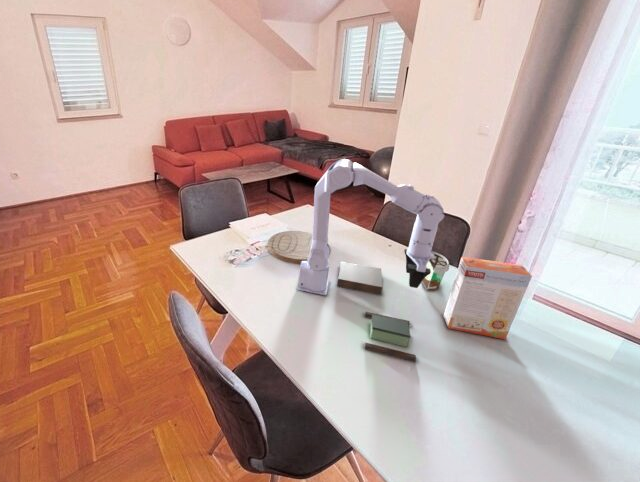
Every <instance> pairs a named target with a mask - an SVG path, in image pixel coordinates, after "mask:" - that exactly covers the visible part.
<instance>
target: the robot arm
mask: <svg viewBox="0 0 640 482" xmlns="http://www.w3.org/2000/svg"><path fill="white" fill-rule="evenodd" d="M351 184H352V186H353V187H356V186H360V185H366V186H368V187H370V188H372V189H374V190H376V191H378V192H380V193H382V194H384V195H387V196H388V197H390V201H391V203H392V204H395V205H396V206H398V207H400V208H402V209H404V210H406V211H408V212H410V213H412V214H414V215H416V218H415V221H414V223H413V227H412V231H411V236H410V240H409V243H408V248H405V249H404V250H403V251H404V256H405V272H406V273H407V274H409V279H408V286H409V287H410V288H415V289H418V288H419V286H420V285H421V284H422V283H423V282H422V280H423V279H424V278H425V277H426V276H427V275H429V274H430V272H431V271H430V269H428V268H426V267H427V266H426V265H427V263H428V261H429V259H434V257H435V256H434V254H431V251H433V250H432V249H433V246H434V243H435V239H436V235H437V232H438V228H439V223H440V222H442V221H443V220H444V218H445V210H444V208H443V206H442V204H441V202H440V201H439V200H438V199H437V198H436V197H434V196H433V195H430V194H427V193H426V194H424V193H422V192H420V191H418V190H416V189H415V186H414V185H412V184H408V185H406V184H399V185H397V184H395V183H393V182H391V181H389V180H388V179H386V178H385V177H382V176H380V175H379V174H377V173H376V172H374V171H372V170H370V169H369V168H367V167H365V166H363V165H362V164H359V163H357V162H352V160H350V159H346V158H342V159H339V160H336V161H335V162H334V163H333V164H330V166H329V167H328V169H327V170H326V171H325V172H324V174H323V175H322V176H321V177H320V179H319V180H318V181H317V183H316V185H315V186H314V197H313V219H312V234H313V239H312V245H311V252H310V254H309V256H308V258H307V261H302V262H301V264H300V267H299V271H298V272H299V273H298V283H297V284H298V286H297V291H302V292H307V293H313V294H317V295H322V296H327V294H328V293H327V292H328V289H329V283H330V282H329V280H328V279H329V271H330V262H329V258H330V257H329V256H330V254H331V246H330V244H329V224H330V207H331V195H332V194H333V193H335V192H336V191H338V190H342V189H344V188H348V187H349V186H350V185H351Z"/></svg>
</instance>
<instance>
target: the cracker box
mask: <svg viewBox="0 0 640 482" xmlns="http://www.w3.org/2000/svg"><path fill="white" fill-rule="evenodd" d="M532 277H533V275H532V274H531V273H530V272H529V271H528V269H526V268H525V267H524V266H523V265H522V264H519V263H518V264H517V263H510V262H503V261H497V260H496V261H494V260H488V259H482V258H481V259H480V258H475V257H474V258H473V257H468V256H467V257H466V256H461V258H460V260H459V264H458V268H457V271H456V274H455V277H454V280H453V283H452V286H451V289H450V293H449V296H448V300H447V303H446V306H445V310H444V313H443V318H444V322H445V324H446V326H447V329H450V330H456V331H460V332H465V333H471V334H475V335H481V336H486V337H491V338H495V339H501V340H506V339H507V336H508V334H509V332H510V329H511V327H512V325H513V323H514V320H515V318H516V314H517V313H518V310H519V308H520V306H521V303H522V301H523V299H524V297H525V294H526V291H527V290H528V287H529V284H530V282H531V280H532Z"/></svg>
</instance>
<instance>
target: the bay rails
mask: <svg viewBox="0 0 640 482" xmlns="http://www.w3.org/2000/svg"><path fill="white" fill-rule="evenodd" d="M372 315H376V316H380V317H385V318H389V319H394V320H398V321H403V322H407V323H408V326H409V327H410V325H411V322H410V320H406V319H402V318H398V317H393V316H389V315H384V314H380V313H375V312H372V311H371V312H370V311H364V317H365V318H368V319H372ZM364 349H365V350H368V351H372V352H374V353H379V354H383V355H388V356H391V357H394V358H399V359H403V360H407V361H411V362H416V360H417V356H416V354H414V353H409V352H405V351H402V350H398V349H397V350H396V349H395V348H394V349H393V348H390V347H385V346H381V345H377V344H373V343H370V342H365V343H364Z"/></svg>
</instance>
